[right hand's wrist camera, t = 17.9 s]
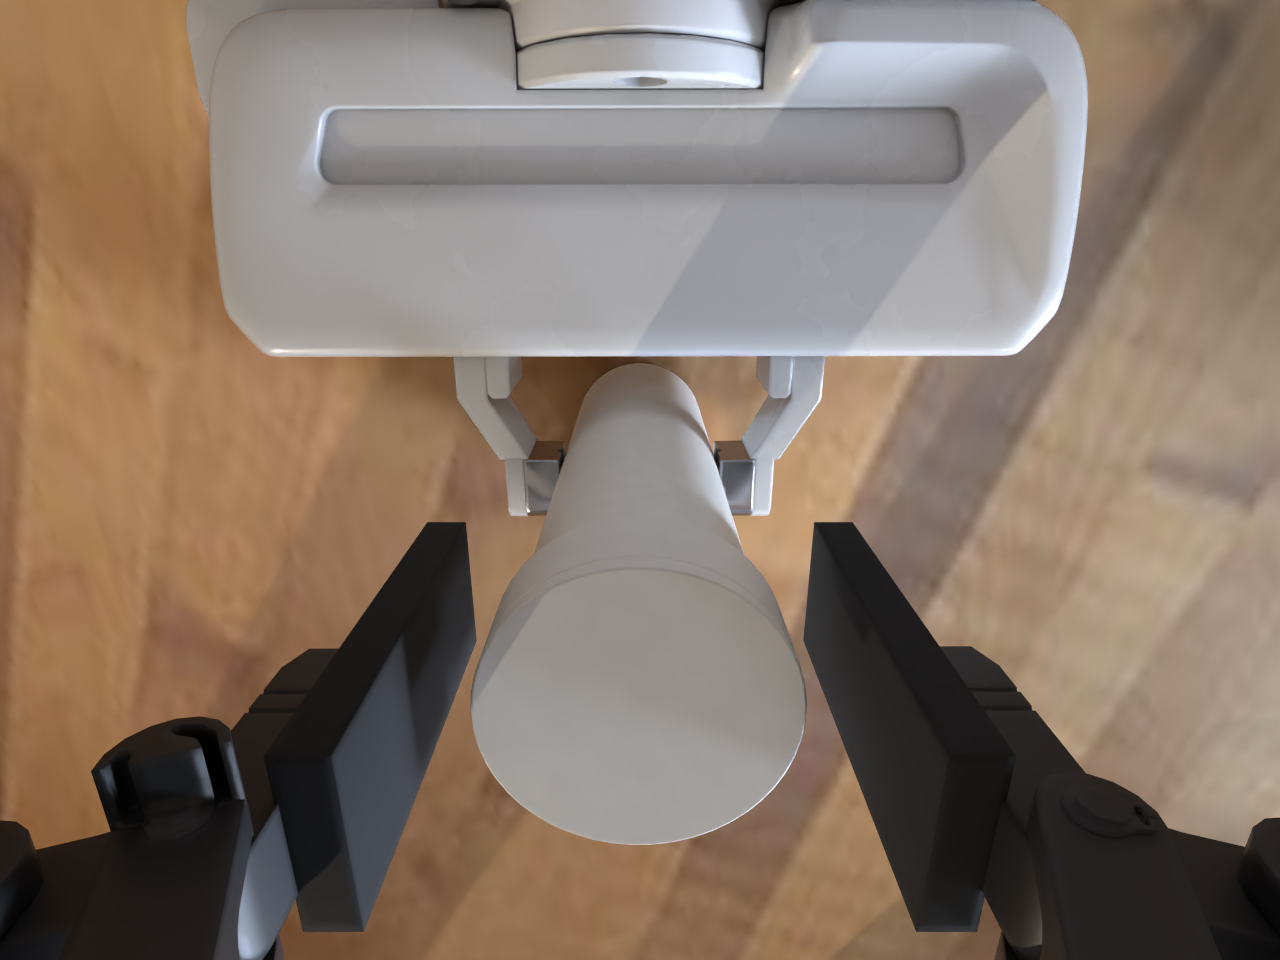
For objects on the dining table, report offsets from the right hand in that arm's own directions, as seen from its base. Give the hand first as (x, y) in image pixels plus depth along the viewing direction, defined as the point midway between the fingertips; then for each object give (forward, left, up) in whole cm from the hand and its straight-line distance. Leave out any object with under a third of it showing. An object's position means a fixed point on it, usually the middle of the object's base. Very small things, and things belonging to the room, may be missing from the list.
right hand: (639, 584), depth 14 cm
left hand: (-1, +1, -6) cm, 6 cm away
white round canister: (0, 0, +4) cm, 4 cm away
